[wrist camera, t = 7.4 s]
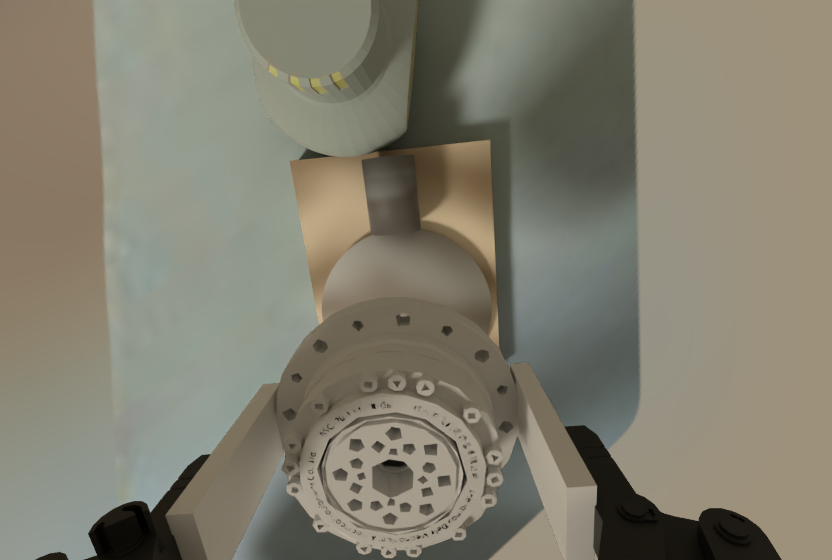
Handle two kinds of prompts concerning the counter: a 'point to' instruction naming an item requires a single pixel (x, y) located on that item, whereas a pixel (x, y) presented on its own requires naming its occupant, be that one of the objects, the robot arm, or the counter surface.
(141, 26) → the counter surface
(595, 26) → the counter surface
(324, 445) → the mechanical component
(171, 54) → the counter surface
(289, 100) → the grey rounded piece
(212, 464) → the robot arm
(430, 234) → the flange board
